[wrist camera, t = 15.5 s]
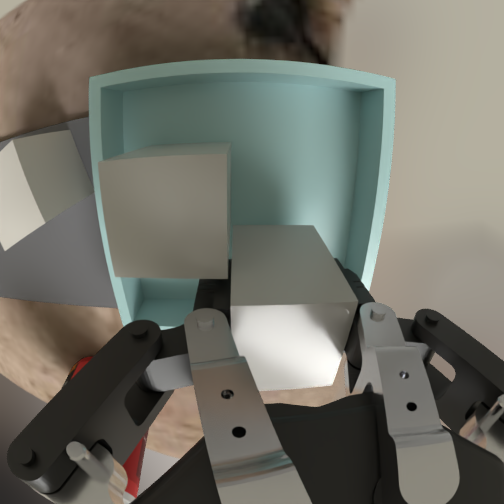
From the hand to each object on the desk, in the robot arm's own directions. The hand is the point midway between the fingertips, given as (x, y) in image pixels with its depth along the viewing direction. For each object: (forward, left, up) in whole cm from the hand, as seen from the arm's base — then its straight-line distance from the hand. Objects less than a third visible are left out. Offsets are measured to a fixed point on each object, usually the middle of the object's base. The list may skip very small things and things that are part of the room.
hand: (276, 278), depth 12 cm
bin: (-1, +2, -4) cm, 5 cm away
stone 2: (-4, +3, -4) cm, 6 cm away
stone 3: (0, 0, -2) cm, 2 cm away
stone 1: (-12, +4, -4) cm, 13 cm away
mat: (-15, +1, -4) cm, 16 cm away
